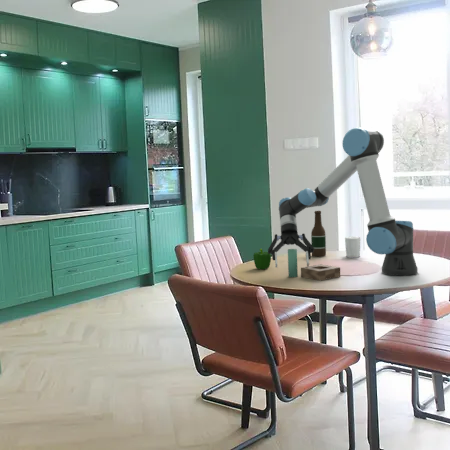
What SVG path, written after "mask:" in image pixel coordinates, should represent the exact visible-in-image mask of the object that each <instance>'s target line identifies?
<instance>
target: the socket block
mask: <svg viewBox="0 0 450 450" xmlns="http://www.w3.org/2000/svg"><path fill="white" fill-rule="evenodd" d="M300 277H301V278H305V279H310V280H315V281H320V282H321V281H325V280H329V279H335V278H340V277H341V267H339V266H334V265H329V264H322V263H321V264H315V265H309V267H307V266H303V267H300Z"/></svg>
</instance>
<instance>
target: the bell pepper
mask: <svg viewBox="0 0 450 450" xmlns="http://www.w3.org/2000/svg"><path fill="white" fill-rule="evenodd" d="M271 261H272V254H268V251H264V250H263V249H262V248H259V251H257V252H256V251H255V252H254V253H253V262H254V267H255V268H256V269H257V270H265V269H266V270H267V269H269V268H270V266H271Z"/></svg>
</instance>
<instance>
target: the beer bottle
mask: <svg viewBox="0 0 450 450" xmlns="http://www.w3.org/2000/svg"><path fill="white" fill-rule="evenodd" d="M310 234H311V236H310V238H311V241H310V244H311V245H312V246H313V247H314V252H313V253H311V257H314V258H323V257H326V255H327V245H326V244H327V241H326V237H327V236H326V235H327V234H326V230H325V228H324V226H323V224H322V211H321V210H315V211H314V224H313V227H312V229H311V233H310Z"/></svg>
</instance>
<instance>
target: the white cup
mask: <svg viewBox="0 0 450 450" xmlns="http://www.w3.org/2000/svg"><path fill="white" fill-rule="evenodd" d="M361 239H362V238H361V236H345V237H344V243H345V244H344V245H345V255H346V257H347V258H360V256H361V255H360V254H361Z"/></svg>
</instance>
